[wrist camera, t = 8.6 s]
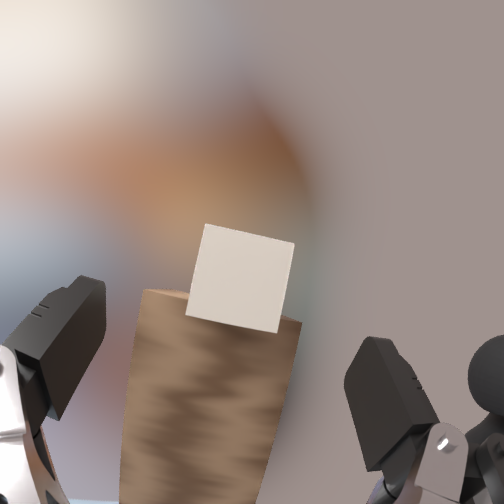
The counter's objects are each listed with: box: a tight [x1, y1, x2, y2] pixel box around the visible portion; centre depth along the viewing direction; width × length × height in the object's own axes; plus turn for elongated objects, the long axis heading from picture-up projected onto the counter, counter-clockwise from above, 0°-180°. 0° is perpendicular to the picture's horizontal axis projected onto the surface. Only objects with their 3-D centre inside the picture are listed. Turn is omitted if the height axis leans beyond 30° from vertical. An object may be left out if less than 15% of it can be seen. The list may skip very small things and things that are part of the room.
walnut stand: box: [119, 289, 302, 504], centre depth 22 cm, size 10×12×32 cm
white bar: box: [185, 224, 295, 333], centre depth 19 cm, size 4×19×4 cm, turn 7°
